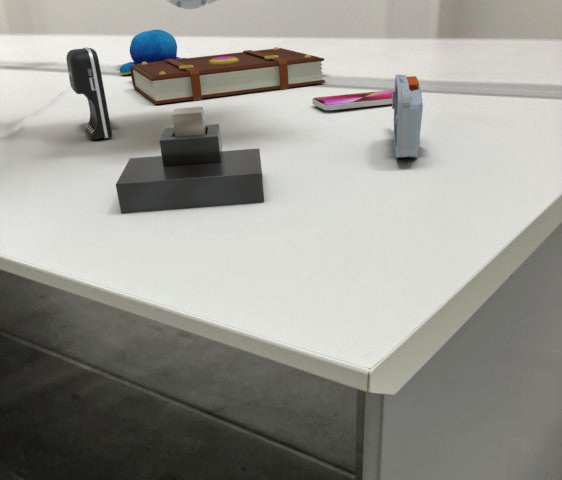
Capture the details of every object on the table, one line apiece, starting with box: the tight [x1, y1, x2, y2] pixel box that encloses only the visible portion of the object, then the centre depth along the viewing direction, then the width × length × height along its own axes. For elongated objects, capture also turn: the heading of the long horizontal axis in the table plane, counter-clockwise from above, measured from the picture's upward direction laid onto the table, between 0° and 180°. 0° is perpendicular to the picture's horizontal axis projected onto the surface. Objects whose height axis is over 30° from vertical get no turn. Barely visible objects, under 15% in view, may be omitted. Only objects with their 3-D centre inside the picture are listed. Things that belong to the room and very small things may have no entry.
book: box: [130, 46, 326, 105], centre depth 128 cm, size 23×32×5 cm
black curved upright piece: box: [65, 46, 113, 140], centre depth 95 cm, size 7×4×11 cm, turn 22°
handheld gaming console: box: [391, 74, 424, 160], centre depth 77 cm, size 14×3×8 cm, turn 174°
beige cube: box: [171, 106, 206, 137], centre depth 70 cm, size 3×3×3 cm
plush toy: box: [119, 29, 186, 75], centre depth 153 cm, size 17×17×8 cm
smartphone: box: [312, 89, 395, 111], centre depth 106 cm, size 7×1×15 cm
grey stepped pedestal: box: [115, 123, 265, 214], centre depth 70 cm, size 14×11×6 cm
